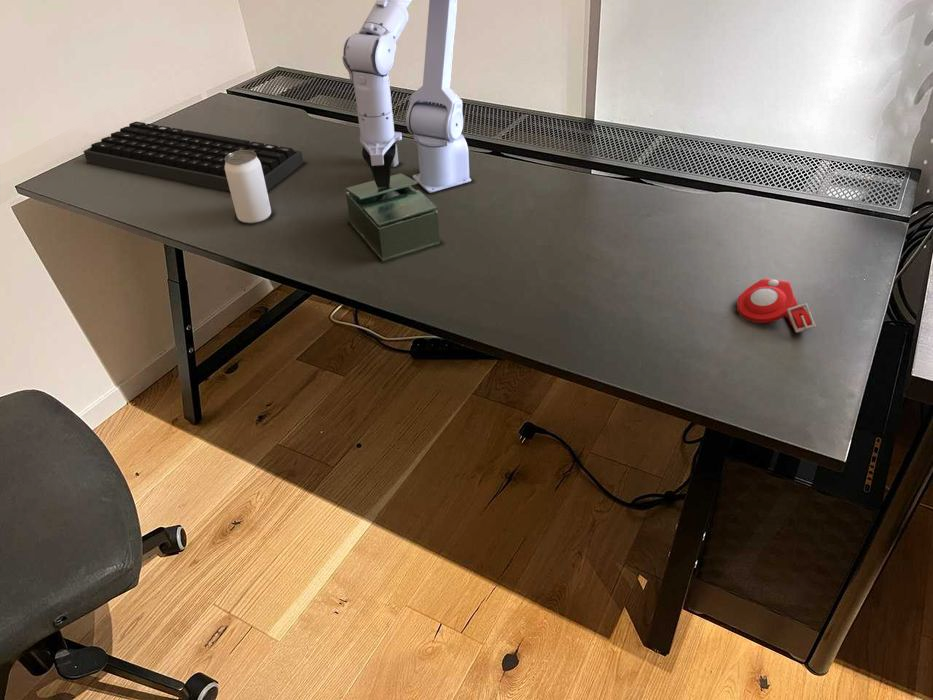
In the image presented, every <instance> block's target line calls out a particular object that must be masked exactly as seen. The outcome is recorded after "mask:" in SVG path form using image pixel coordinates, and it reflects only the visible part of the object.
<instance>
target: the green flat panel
mask: <svg viewBox="0 0 933 700" xmlns="http://www.w3.org/2000/svg"><path fill="white" fill-rule="evenodd" d="M415 185H418V182H417V181H416V180H414V179H413V178H411V177H410V176H407V175H405V174H403V173H401V172H399V173H396V174H393V175H390V184H389V187H380V188H378V187H377V185H376V183H375V180H370V181H367V182H363V183H359V184H355V185H352V186H349V187H345V191H346V192H349V193H351V194H352V195H354V196H355V197H357V198H358V199H360V200H361V199H365V198H368V197H372V196H375V195H379V194H383V193H386V192H390V191H393V190H397V189H401V188H404V187H408V186H411V187H412V186H415Z"/></svg>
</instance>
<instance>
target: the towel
mask: <svg viewBox="0 0 933 700" xmlns="http://www.w3.org/2000/svg"><path fill="white" fill-rule="evenodd" d="M398 195H401V194H400V193H398V192H396V191H391V192H388V193H386V194H385V195H384V196H383V198H382V200H384V199H388V198H391V197H395V196H398ZM412 217H414V216H412ZM412 217H408V218H405V219H409V218H412ZM405 219H402V220H405ZM402 220H398V221H402ZM398 221H395V222H398Z"/></svg>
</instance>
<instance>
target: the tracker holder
mask: <svg viewBox="0 0 933 700" xmlns="http://www.w3.org/2000/svg"><path fill="white" fill-rule="evenodd" d="M808 305H809V304H808V303H807V302H805V303H800V304H799V303H798V302H797V299H796V297H795V295H794V291H793V288H792V285H791V282H790V281H787V280H780V279H779V280H778V279H772V278H762V279H760V280H758V281H756V282H754V283H753V284H752V285H750V286H748V287H747V288H746V289H745V290H744V291H743V292H741V293H740V294H739V296H738V297H737V301H736V309H737V312H738V313H739V315H740V316H741V317H742V318H743V319H745V320H746V321H749V322H753V323H758V324H766V323H772V322H775V321H776V322H777V321H780V320H781V319H783V318H787V320H788V322H789V324H790V325H791V327H792V328H793V329H794V332H795V333H796V334H798V333H801V332H806V331H808V330H811V329H814V328H816V327H817V325H816V322H815V320H814V318H813V316H812V313H811V311H810V308H809V306H808Z"/></svg>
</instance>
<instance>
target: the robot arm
mask: <svg viewBox="0 0 933 700" xmlns="http://www.w3.org/2000/svg"><path fill="white" fill-rule="evenodd" d="M412 1H413V0H376V1H375V3H374V5H373V7H372V8H371V10H370V11H369V13H368V15H367V17H366V19H365V20H364V22H363V24H362V26H361V27H360V30H359V31H358V32H355V33H353V34H351V35H350V36H348V37H347V38H346V40H345V41H344V44H343V49H342V54H343V55H342V57H341V60H342V63H343V66H344V68H345V70H346V71H347V72H348V77H349V81H350V82H351V83H352V84H353V88H354V96H355V101H356V102H355V104H356V112H357V120H358V126H359V134H360V135H359V143H360V144H361V146H362V151H361V155H362V158H363V160H364V161H365V162H366V164H367V165H368V167H369V170H370V172H371V174H372V178H373V179H374V180H375V183H376V185H377V187H378V188H380V187H389V184H390V176H391V172H392V166H391V165H392V162H393V159H394V157H395V154H396V144H397V143H396V142H400V141H402V139H403V137H402V136H403V134H402V132H400V131H395V124H394V116H393V115H394V114H393V105H392V95H391V94H392V93H391V85H390V84H391V83H390V74H389V73H390V72H391V70H392V69H393V66H394V63H395V54H396V51H397V48H398V46H397V44H396V43H397V42H398V40H399V38H400V36H401V34H402V33H403V31H404V29H405V27H406V25H407V24H408V22H409V17H410V16H409V12H408V7H409V6H410V5H411V3H412ZM458 2H459V0H428V12H427V13H428V15H427V27H426V38H425V39H426V41H425V52H424V63H423V65H424V66H423V76H422V77H423V79H422V86H421V87H419V88H418V89H416V90H415V91H414V92H413V93H412V94H411V95H410V97H409V104H408V108H407V110H406V114H405V126H406V128H407V131H408V133H409V134H411V135H413V141H416V142H417V155H418V168H419V173H416V174H413V175H412V179H413V180H415V181H417V184H419V185H420V186H421V187H422V188H423V189H424V190H425V191H426V192H427V193H429V194H431V193H432V194H433V193H436V192H439V191H442V190H445V189H449V188H452V187H456V186H460V185H464V184H467V183H470V182H472V178H471V177H470V157H469V147H468V142H467V140H466V138H465V136H464V134H463V133H462V132H463V128H464V114H463V100H462V99H461V98H460V97H459V96H458V95H457V93H456V92H455V91H454V90H453V89H452V88H451V78H452V70H453V69H452V67H453V57H454V46H455V36H456V35H455V34H456V25H457V13H458V4H459V3H458ZM374 180H373V181H374Z"/></svg>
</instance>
